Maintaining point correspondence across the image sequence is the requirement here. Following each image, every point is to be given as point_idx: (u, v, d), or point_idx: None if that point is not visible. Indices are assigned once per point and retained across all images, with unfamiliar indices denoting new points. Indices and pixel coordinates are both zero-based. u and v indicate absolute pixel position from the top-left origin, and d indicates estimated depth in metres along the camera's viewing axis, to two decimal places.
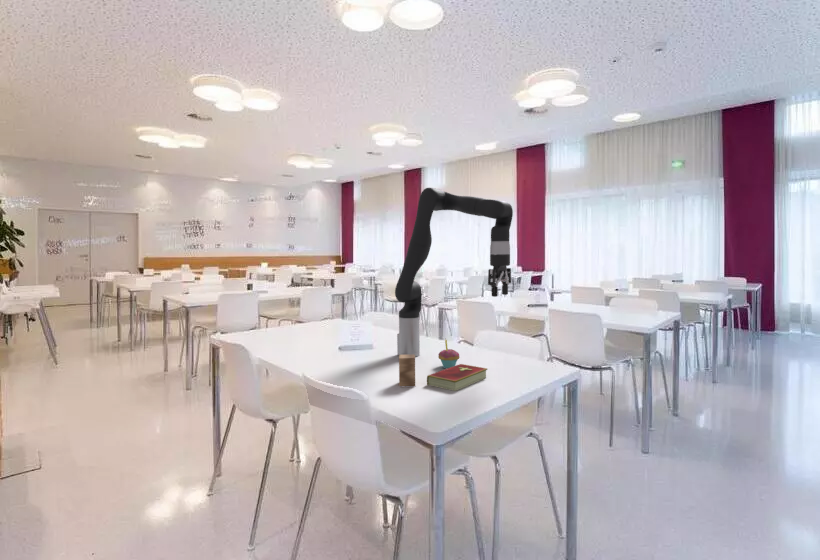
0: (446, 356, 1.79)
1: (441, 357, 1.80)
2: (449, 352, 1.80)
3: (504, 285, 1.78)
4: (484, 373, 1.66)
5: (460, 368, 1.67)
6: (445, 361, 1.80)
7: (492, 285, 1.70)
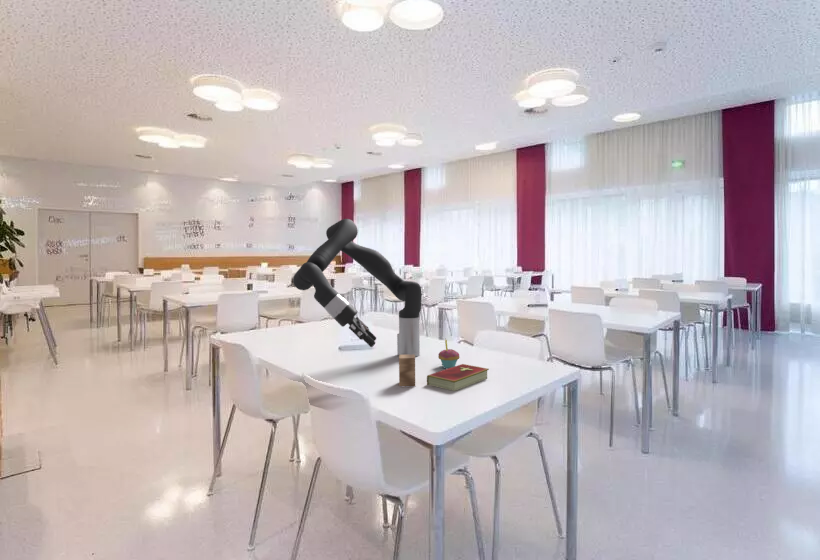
0: (446, 356, 1.79)
1: (441, 357, 1.80)
2: (449, 352, 1.80)
3: (367, 333, 1.62)
4: (485, 373, 1.65)
5: (461, 368, 1.66)
6: (445, 361, 1.80)
7: (364, 337, 1.51)
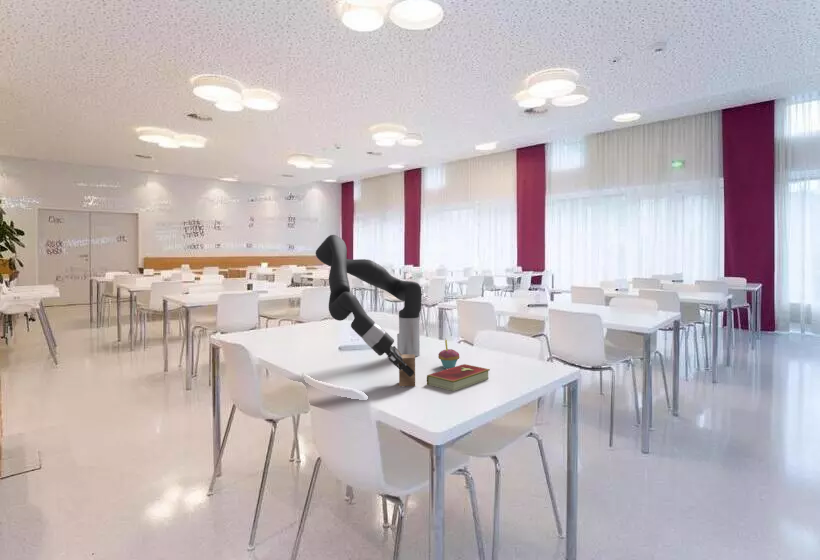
0: (446, 356, 1.79)
1: (441, 357, 1.80)
2: (449, 352, 1.80)
3: None
4: (486, 374, 1.65)
5: (462, 368, 1.66)
6: (445, 361, 1.80)
7: (403, 367, 1.54)
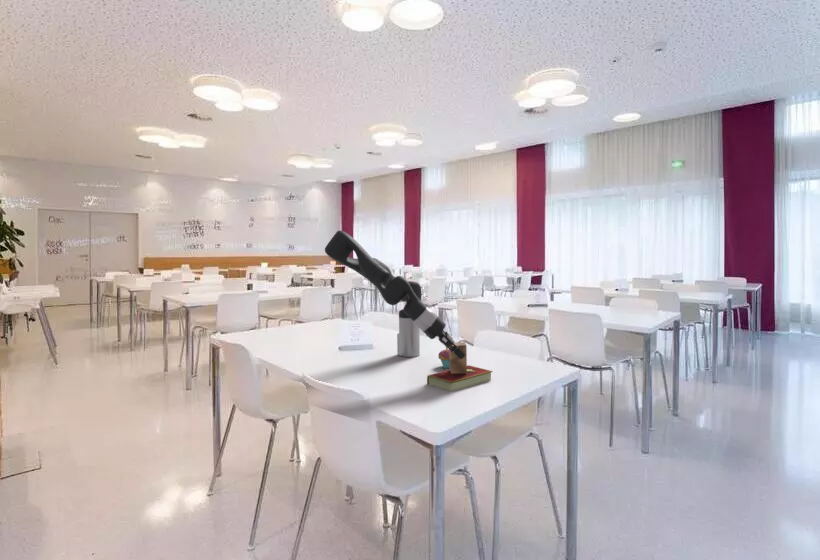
0: (446, 356, 1.79)
1: (441, 357, 1.80)
2: None
3: None
4: (488, 375, 1.63)
5: None
6: (445, 361, 1.80)
7: (455, 349, 1.55)
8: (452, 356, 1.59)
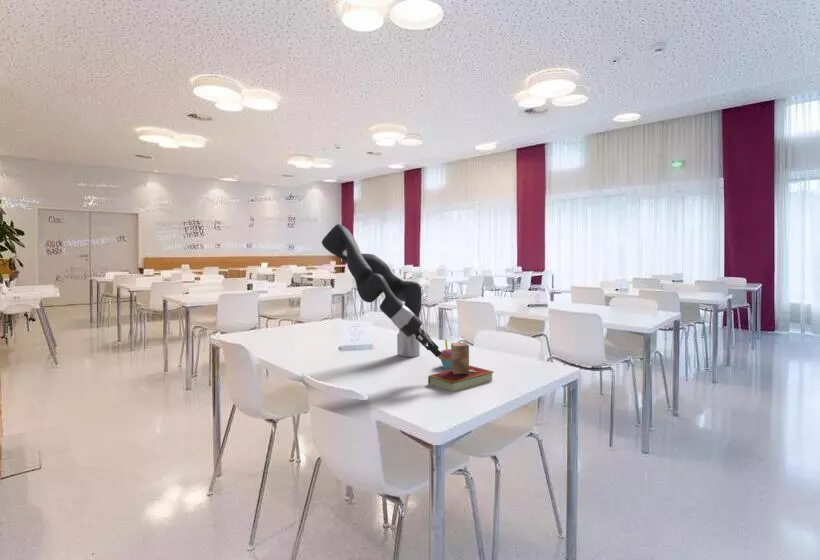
0: (446, 356, 1.79)
1: (441, 357, 1.80)
2: (449, 352, 1.80)
3: None
4: (490, 376, 1.63)
5: None
6: (445, 361, 1.80)
7: (431, 347, 1.55)
8: (454, 356, 1.59)
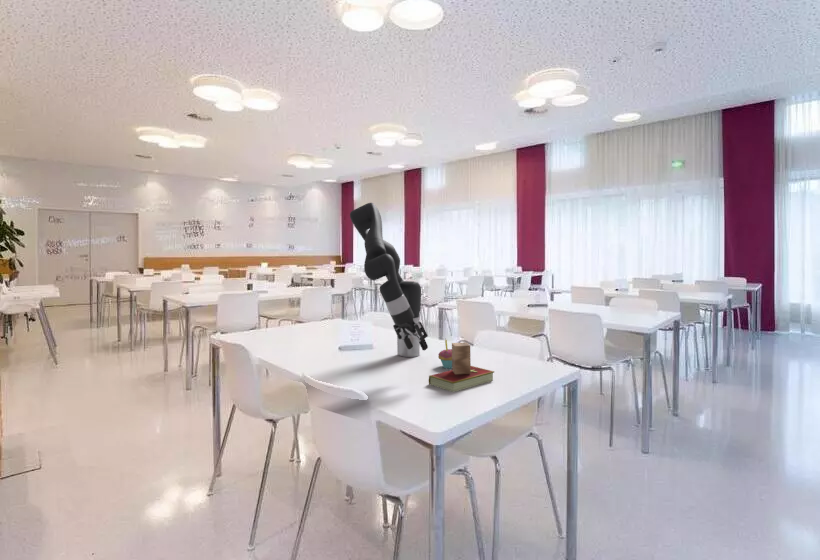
0: (446, 356, 1.79)
1: (441, 357, 1.80)
2: (449, 352, 1.80)
3: (407, 339, 1.65)
4: (490, 376, 1.62)
5: None
6: (445, 361, 1.80)
7: (424, 338, 1.57)
8: (456, 357, 1.58)
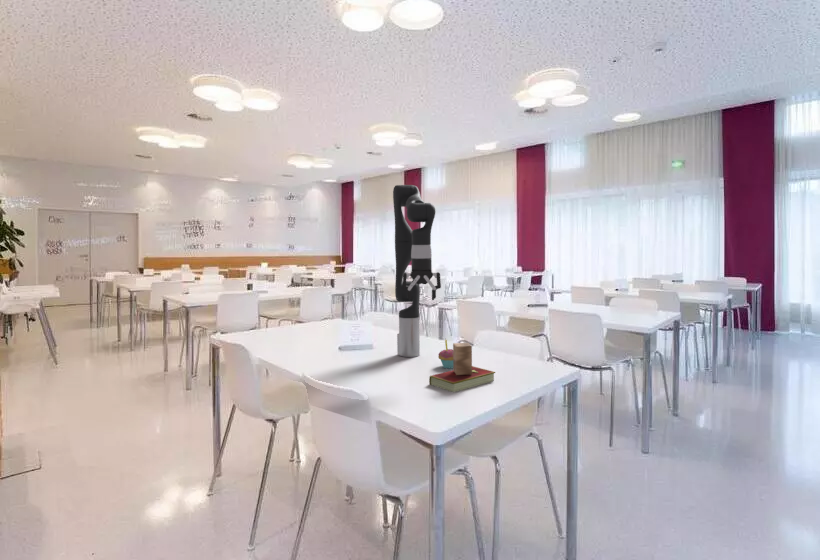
0: (446, 356, 1.79)
1: (441, 357, 1.80)
2: (449, 352, 1.80)
3: (411, 290, 1.71)
4: (491, 376, 1.62)
5: None
6: (445, 361, 1.80)
7: None
8: (457, 357, 1.57)
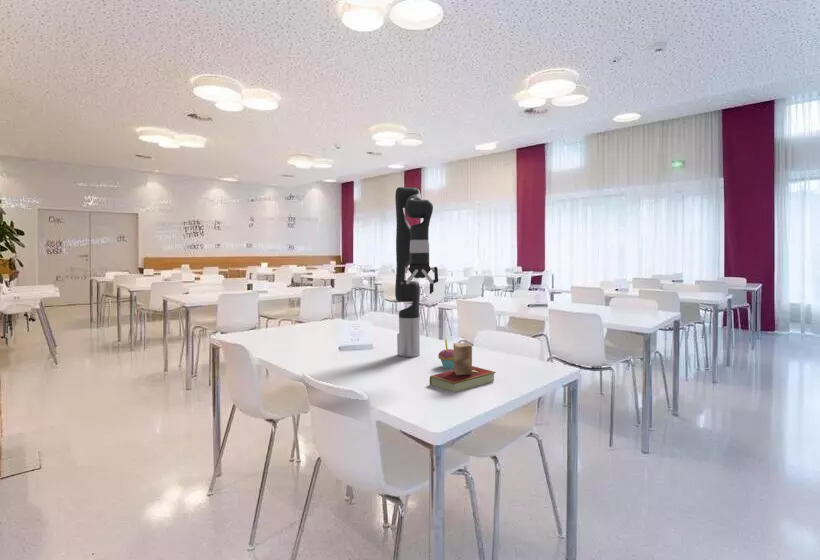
0: (446, 356, 1.79)
1: (441, 357, 1.80)
2: (449, 352, 1.80)
3: (409, 284, 1.76)
4: (492, 376, 1.62)
5: None
6: (445, 361, 1.80)
7: (435, 282, 1.76)
8: (457, 357, 1.57)
